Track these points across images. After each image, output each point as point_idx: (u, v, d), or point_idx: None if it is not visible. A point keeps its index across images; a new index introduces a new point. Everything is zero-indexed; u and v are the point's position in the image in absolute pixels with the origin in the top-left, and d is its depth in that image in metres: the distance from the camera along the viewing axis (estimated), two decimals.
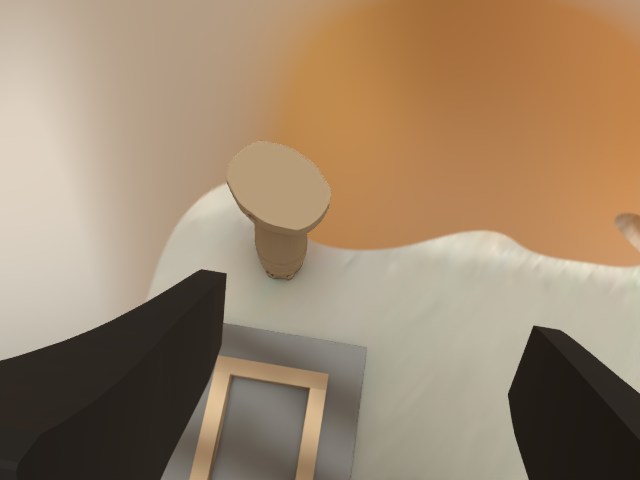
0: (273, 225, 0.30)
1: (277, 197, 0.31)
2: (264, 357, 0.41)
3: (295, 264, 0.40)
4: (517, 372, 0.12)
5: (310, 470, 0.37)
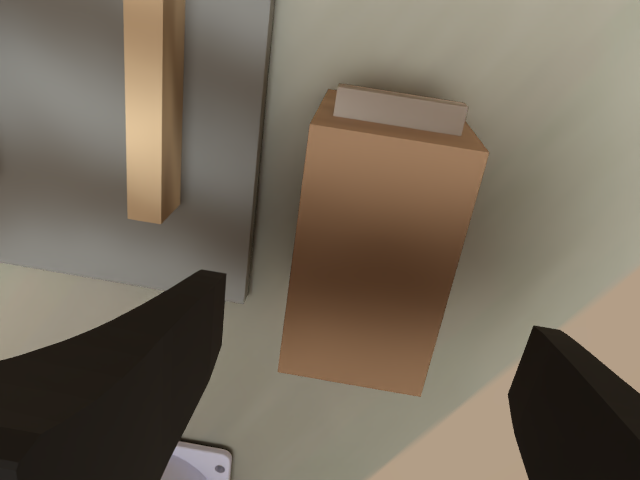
0: None
1: None
2: None
3: None
4: (517, 372, 0.12)
5: (154, 26, 0.16)
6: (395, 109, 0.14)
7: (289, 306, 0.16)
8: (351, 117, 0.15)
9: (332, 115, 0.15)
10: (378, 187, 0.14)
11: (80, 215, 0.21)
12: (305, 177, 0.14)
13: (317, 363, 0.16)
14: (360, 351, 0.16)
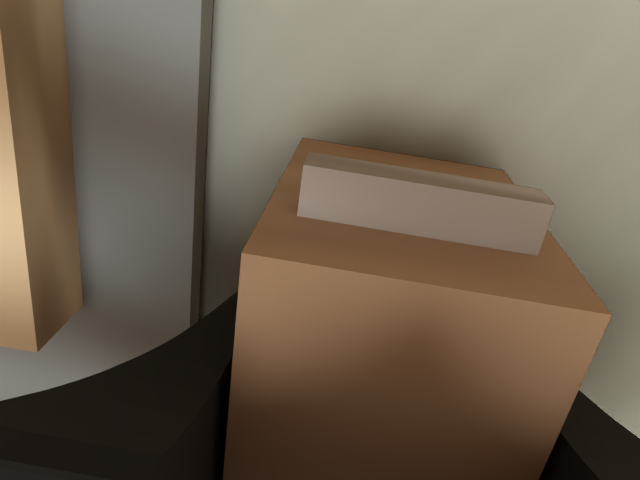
0: None
1: None
2: None
3: None
4: None
5: None
6: (414, 206, 0.08)
7: None
8: (331, 217, 0.08)
9: (295, 215, 0.08)
10: (381, 368, 0.07)
11: None
12: (238, 346, 0.07)
13: None
14: None
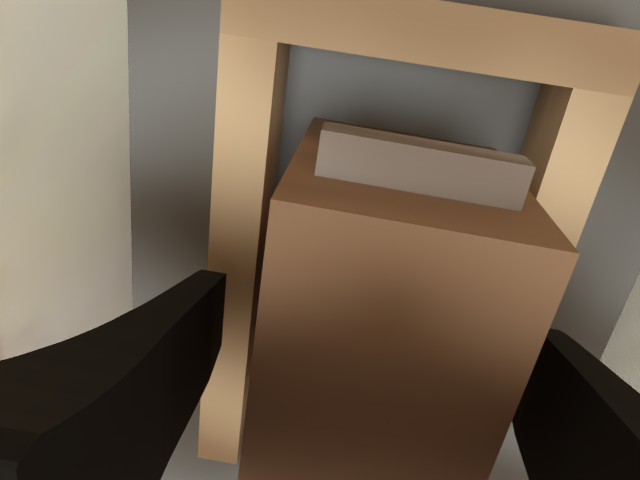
0: None
1: None
2: None
3: None
4: None
5: None
6: (415, 167, 0.09)
7: (244, 464, 0.10)
8: (344, 176, 0.09)
9: (312, 174, 0.09)
10: (386, 302, 0.08)
11: None
12: (265, 282, 0.08)
13: None
14: None
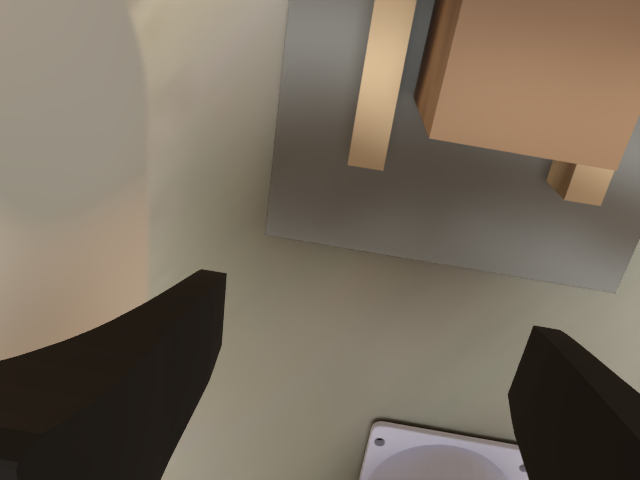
0: None
1: None
2: None
3: None
4: (517, 372, 0.12)
5: None
6: None
7: (459, 30, 0.12)
8: None
9: None
10: None
11: (460, 198, 0.20)
12: None
13: (484, 122, 0.13)
14: (546, 100, 0.12)
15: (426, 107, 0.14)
